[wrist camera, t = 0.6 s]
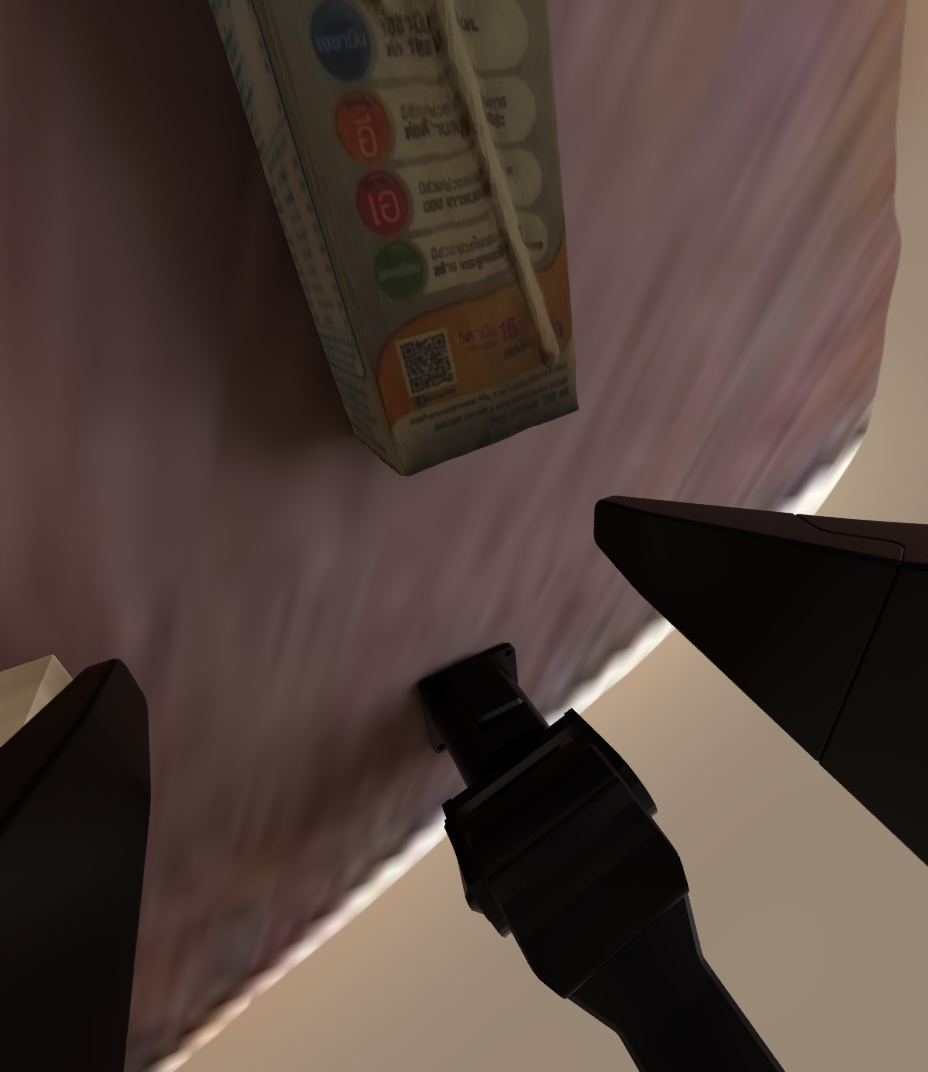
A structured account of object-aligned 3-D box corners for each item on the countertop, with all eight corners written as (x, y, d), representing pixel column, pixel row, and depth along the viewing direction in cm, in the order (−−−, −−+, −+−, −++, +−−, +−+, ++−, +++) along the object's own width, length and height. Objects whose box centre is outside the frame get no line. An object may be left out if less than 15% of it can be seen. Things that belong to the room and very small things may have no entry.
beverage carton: (407, -324, 13) (552, -754, 7) (507, 390, 23) (597, 422, 18) (75, -364, 10) (-56, -1016, 5) (352, 445, 21) (401, 500, 16)
